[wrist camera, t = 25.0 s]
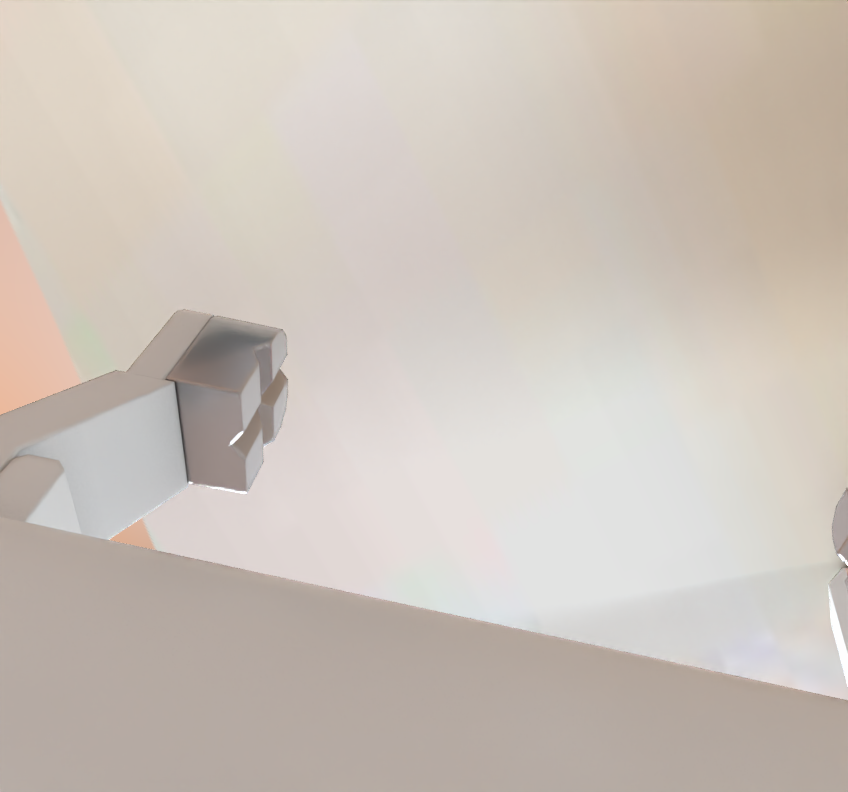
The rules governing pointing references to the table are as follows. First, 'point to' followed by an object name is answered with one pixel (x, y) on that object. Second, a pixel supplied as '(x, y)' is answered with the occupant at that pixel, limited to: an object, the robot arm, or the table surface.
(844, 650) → the bevelled white case
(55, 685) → the robot arm
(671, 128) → the table surface
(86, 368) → the table surface
